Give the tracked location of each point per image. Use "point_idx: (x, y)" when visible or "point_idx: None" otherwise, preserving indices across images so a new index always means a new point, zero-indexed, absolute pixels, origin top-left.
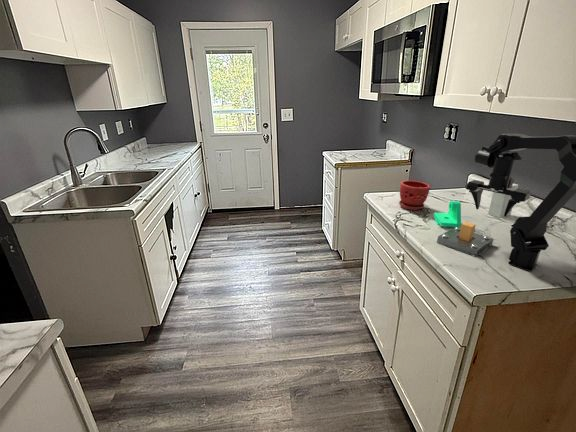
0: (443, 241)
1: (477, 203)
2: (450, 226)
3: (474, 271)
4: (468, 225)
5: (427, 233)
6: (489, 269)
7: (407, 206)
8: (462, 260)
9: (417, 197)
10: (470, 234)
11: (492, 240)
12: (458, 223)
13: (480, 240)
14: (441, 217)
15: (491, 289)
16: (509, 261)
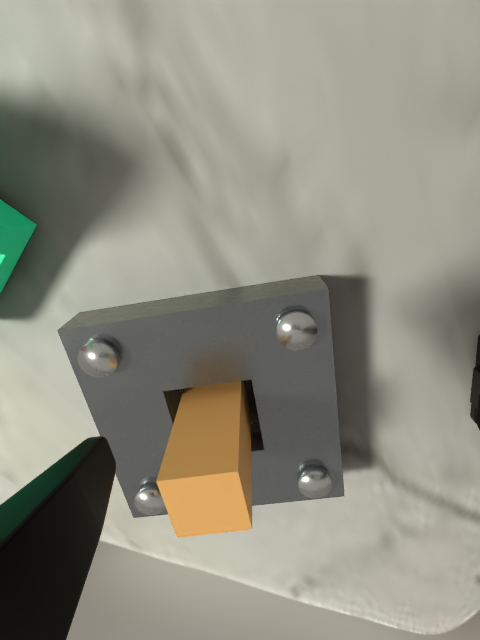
0: None
1: (78, 598)
2: (5, 283)
3: (389, 558)
4: (220, 523)
5: (38, 445)
6: (424, 511)
7: None
8: (317, 529)
9: None
10: (249, 466)
11: (327, 300)
12: (7, 246)
13: (289, 386)
14: None
15: (475, 599)
16: (475, 411)
